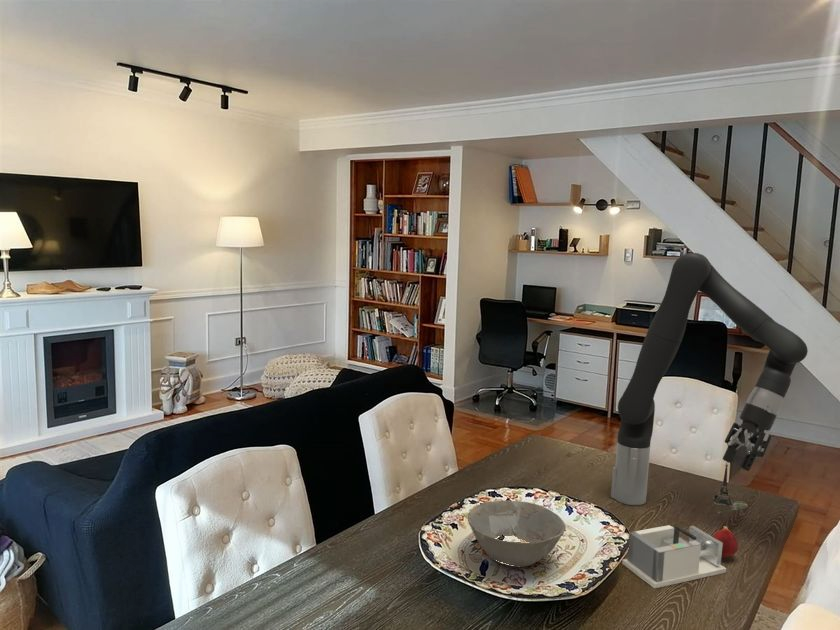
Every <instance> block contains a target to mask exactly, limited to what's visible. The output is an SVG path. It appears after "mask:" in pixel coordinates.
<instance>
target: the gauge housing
mask: <svg viewBox="0 0 840 630" xmlns="http://www.w3.org/2000/svg"><path fill="white" fill-rule="evenodd" d="M671 538H674V527H673V526H671V525H669V524H667V525H662V526H658V527H657V526H656V527H651V528H646V529H641V530H636V531H635V530H634V531H630V532H628V543H627V544H628V545H630V546H629V549H628V548H627V557H626V558H624V559H622V562H621V564H622V565H623V566H625V567H626V568H628V570H630V571H631V572H632V573H634V574H635V575H636V576H637V577H639V578H640V579H641V580H643V581H644V582H646V583H647V584H648V585H650V586H651V588H653V589H655V590H656V589H658V588H663V587H667V586H672V585H677V584H680V583H686V582H689V581H694V580H698V579H703V578H709V577H712V576H716V575H721V574H725V573H727V568H726V567H725V566H723V565H722V564H721V565H720V566H716V565H714V564H713V563H711V562H709V561H708V560H706V559H705V558H703V557H702V556H700V550H701V544H700V543H699V542H697V541H690V542H688V541H687V542H685V543H680V544H679V543H677V544H672V545H670V546H665V547H662V542H663V540H665V539H671ZM628 545H627V546H628Z"/></svg>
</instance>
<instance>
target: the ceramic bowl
mask: <svg viewBox="0 0 840 630" xmlns="http://www.w3.org/2000/svg"><path fill="white" fill-rule="evenodd" d="M467 521H468V522H467V523H468V525H469V527H470V529H471V531H472V533H473V535H474V537H475V539H476V540H477V542H478V543H479V545H480V546H481V549H482V550H483V551H484V552H485V553H486V555H487V556H488V555H489V556H490V557H489V556H488V557H489V558H491V559H492V558H493V559H495V560H497V561H499V562H503V563H506V564H509V565H514V566H526V567H528V566H531V565H532V566H533V564H535V563H538V562H540V560H542V559H545V557H547V556H548V555H549V554H550V553H551V552H553V550H554V548H555V547H556V545H557V544H558V542H559V541H560V539H561V537H562V536H563V535H564V533H565V531H566V529H567V528H566V527H567V526H566V524H565V522H564V520H563V519H562V518H561V517H560V516H559V515H558V514H557V513H555V512H553V511H552V510H550V509H549V508H547V507H544V506H543V505H539V504H537V503H532V502H528V501H520V500H519V501H518V500H510V499H509V500H494V501H493V500H492V501H491V500H490V501H484V502H482V503H480V504H477V505H476V506H475V507H473V508H471V509H470V510H469V511H468V513H467ZM502 535H503V536H512V535H514V536H515V537H517V538H518V539H522V540H525V541H526V542H529V543H521V542H507V541H503V540H499V539H495V538H497V537H498V536H502ZM493 559H492V560H493ZM495 560H494V561H495ZM497 561H496V562H497Z"/></svg>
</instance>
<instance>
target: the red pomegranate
mask: <svg viewBox="0 0 840 630" xmlns="http://www.w3.org/2000/svg"><path fill="white" fill-rule="evenodd" d="M712 537H713V538H715V539H717V540H719V541H720V542H722V543H723V546H722V556H721V559H726V558H729V557H732V556H734V555H735V554H736V553H737V552H738V549H739V543H738V539H737V537H736V535H735V534H734V533H733V531H730V529H729V528H728V527H727V526H725V525H724V526H722V529H719V530H717V531H715V533H714V534H713V536H712Z"/></svg>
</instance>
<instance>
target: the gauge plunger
mask: <svg viewBox="0 0 840 630" xmlns="http://www.w3.org/2000/svg"><path fill="white" fill-rule="evenodd" d="M673 528H674V536H673V538H671V539H665V540H663V542H662V547H665V546H670V545H672V544H677V543H679V544H680V543H685V542H690V541H697V542H699V543H700V544H701V550H700V556H702V557H703V558H705V559H706V560H708V561H709V562H711V563H713V564H714V565H716V566H720V565H722V564H721V563H722V557H721V556H722V546H723V543H722V542H720V541H719V540H717V539H715V538H713V536H712V535H710V534H709V533H707V532H705V531H703V530H702V529H701V528H698V527H697V526H695V525H690V526H689V531H687V530H686V529H684V528H682V527H681V526H679V524H678V525H677V524H675V525H674V527H673ZM680 533H682V534H683V535H685V536H687V537H688V541H686V540H685V539H684V538H682V537H680Z"/></svg>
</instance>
